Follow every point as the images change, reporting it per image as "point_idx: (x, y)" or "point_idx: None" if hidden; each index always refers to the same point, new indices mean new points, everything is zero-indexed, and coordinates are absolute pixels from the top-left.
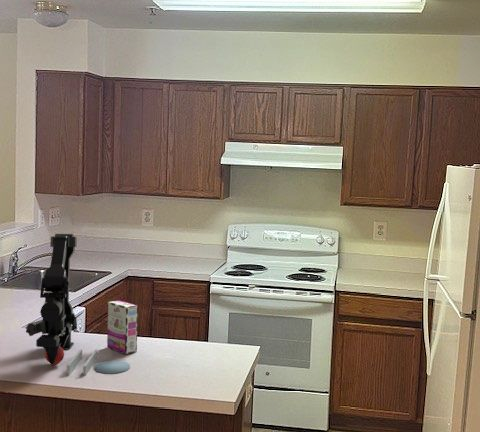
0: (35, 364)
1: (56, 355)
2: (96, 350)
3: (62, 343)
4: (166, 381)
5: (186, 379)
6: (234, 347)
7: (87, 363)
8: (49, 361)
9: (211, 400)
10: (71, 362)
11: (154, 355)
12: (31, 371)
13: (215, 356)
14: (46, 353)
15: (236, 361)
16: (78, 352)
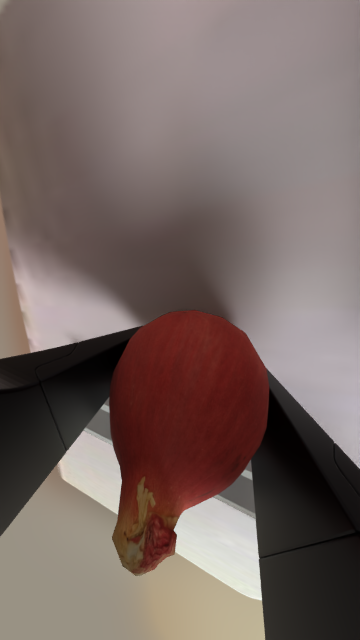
0: (254, 222)
1: (108, 389)
2: (254, 517)
3: (266, 534)
4: (100, 475)
5: (111, 491)
6: (251, 591)
7: (103, 440)
8: (130, 330)
9: (58, 470)
10: (105, 409)
11: (242, 538)
12: (122, 218)
13: (210, 559)
14: (139, 337)
15: (182, 551)
16: (245, 472)
